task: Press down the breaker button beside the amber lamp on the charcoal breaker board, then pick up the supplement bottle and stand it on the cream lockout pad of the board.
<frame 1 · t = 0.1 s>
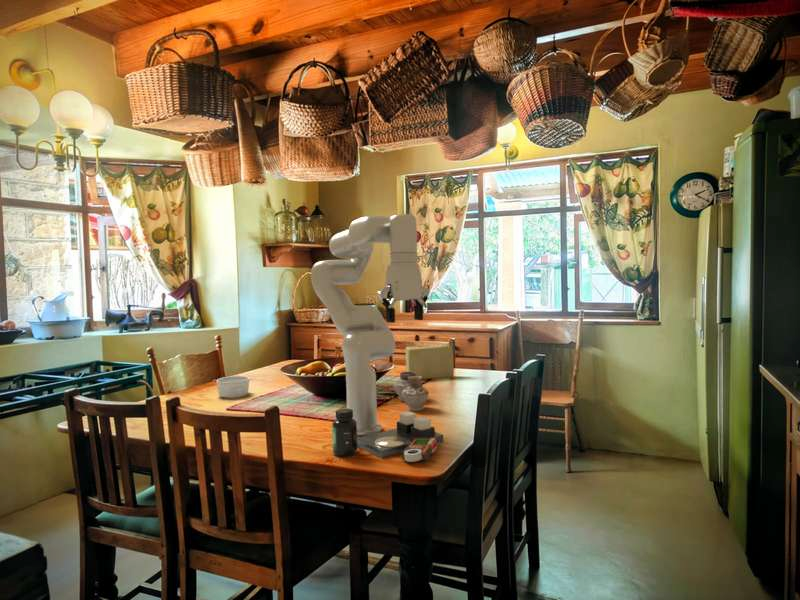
hand: (405, 320, 148), 37 cm above the table, tool pointing down, fingers open, 9 cm apart
cheese: (430, 378, 249), on the table
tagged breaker: (422, 424, 156), point 5 cm above the table, slide at 0.0 cm
electronic device: (419, 455, 145), on the table, touching breaker board
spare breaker: (408, 419, 161), point 5 cm above the table, slide at 0.0 cm
supplement bottle: (345, 453, 148), on the table
breaker board: (399, 443, 155), on the table
pottery: (411, 404, 201), on the table
ramekin: (233, 395, 221), on the table
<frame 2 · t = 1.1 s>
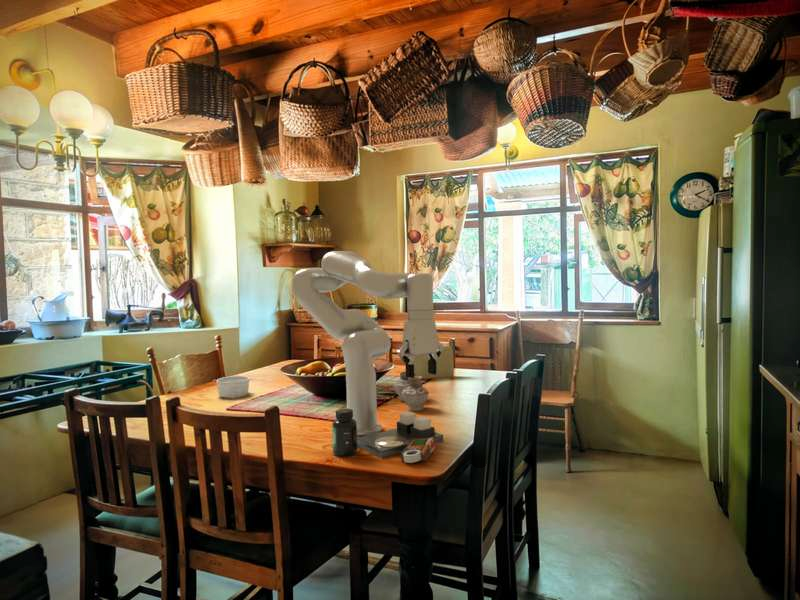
hand: (421, 375, 155), 20 cm above the table, tool pointing down, fingers open, 7 cm apart
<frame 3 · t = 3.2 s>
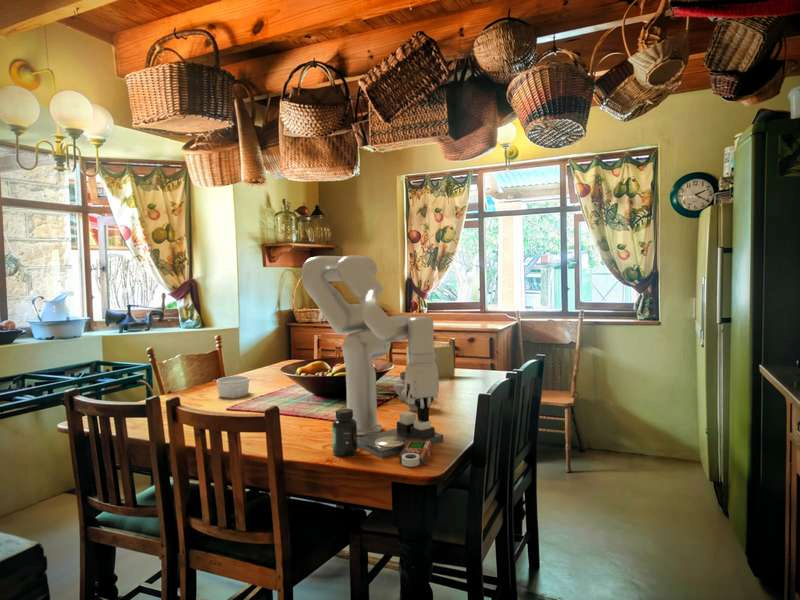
hand: (423, 420, 156), 7 cm above the table, tool pointing down, fingers closed
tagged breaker: (422, 426, 156), point 5 cm above the table, slide at 0.5 cm, touching gripper
electronic device: (415, 458, 143), on the table, touching breaker board
everything else where it was.
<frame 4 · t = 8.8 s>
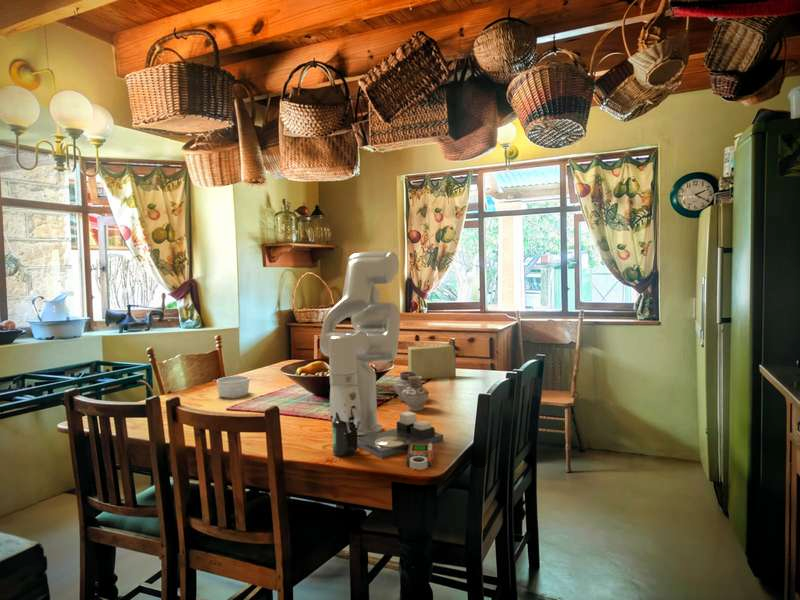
hand: (344, 441, 148), 3 cm above the table, tool pointing down, fingers closed on supplement bottle, 6 cm apart
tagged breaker: (422, 428, 156), point 4 cm above the table, slide at 1.2 cm
electronic device: (419, 461, 142), on the table, touching breaker board
supplement bottle: (345, 453, 148), on the table, touching gripper
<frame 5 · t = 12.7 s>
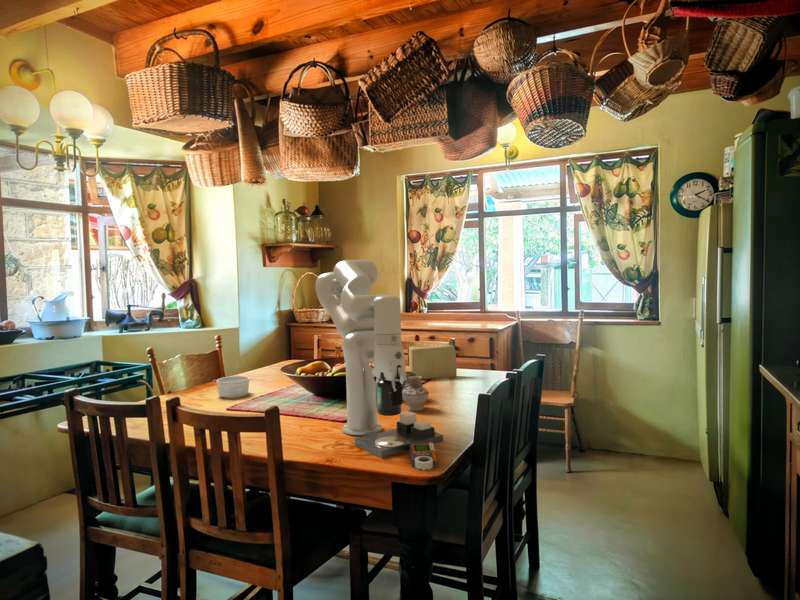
hand: (389, 401, 150), 14 cm above the table, tool pointing down, fingers closed on supplement bottle, 6 cm apart
electronic device: (422, 461, 142), on the table
supplement bottle: (389, 413, 150), point 10 cm above the table, touching gripper
when the fingers open (7 cm above the table, at t = 14.4 s): supplement bottle drops 1 cm, resting on breaker board.
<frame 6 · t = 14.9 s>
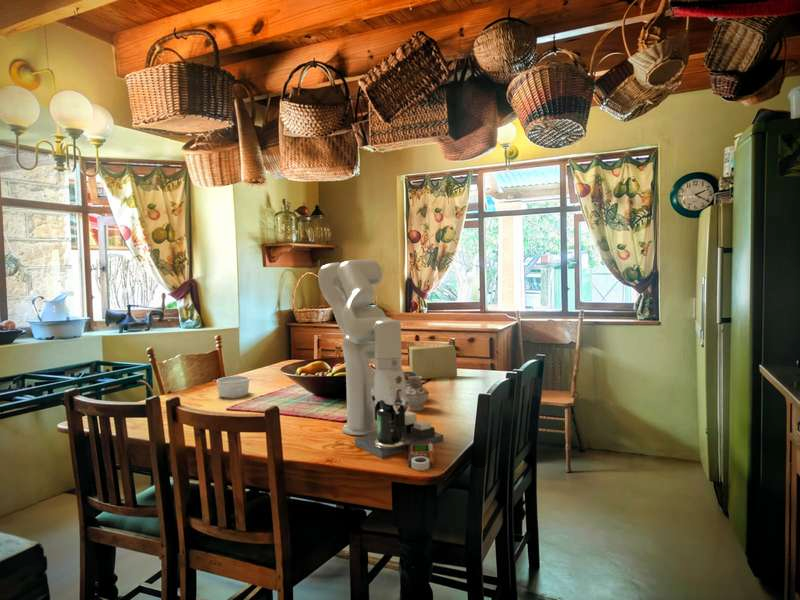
hand: (389, 423, 150), 7 cm above the table, tool pointing down, fingers open, 9 cm apart
supplement bottle: (389, 441, 151), point 2 cm above the table, touching breaker board
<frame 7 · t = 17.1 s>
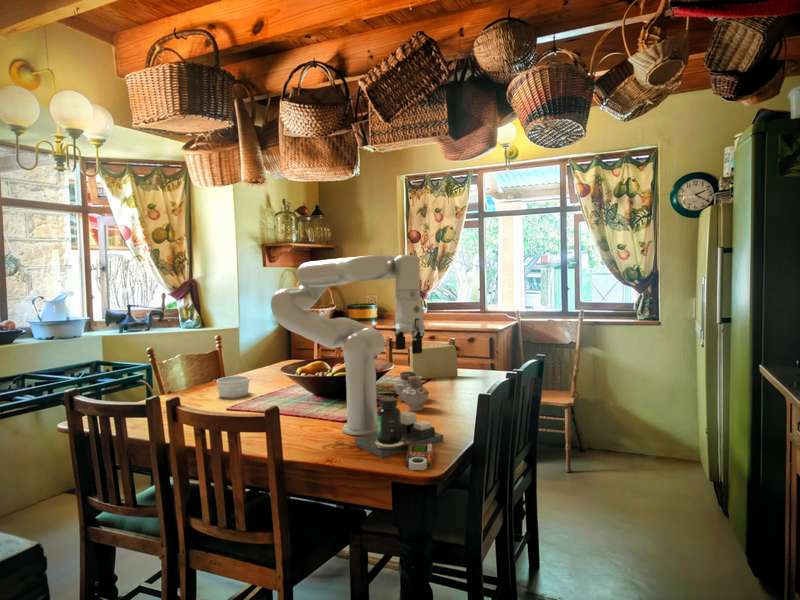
hand: (408, 351, 162), 26 cm above the table, tool pointing down, fingers open, 9 cm apart
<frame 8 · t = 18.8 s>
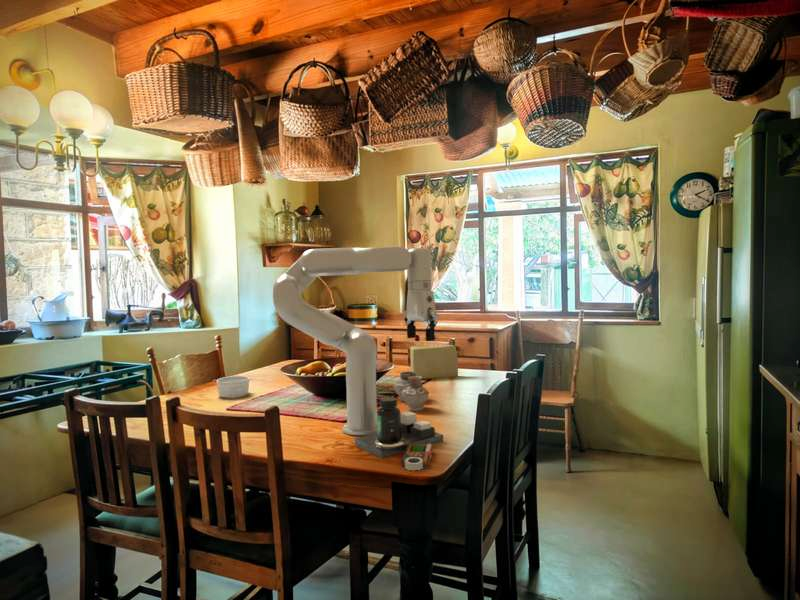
hand: (420, 339, 172), 28 cm above the table, tool pointing down, fingers open, 9 cm apart
at the end: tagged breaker slide at 1.2 cm; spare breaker slide at 0.0 cm; supplement bottle 0.4 cm from the target spot on the breaker board, point 2.1 cm above the breaker board's base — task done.
